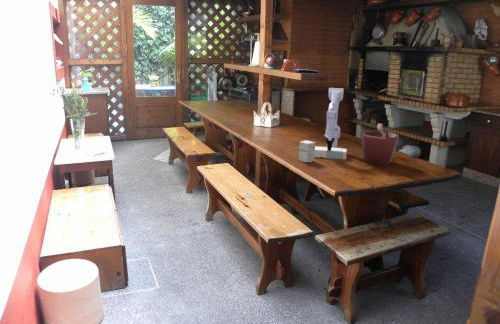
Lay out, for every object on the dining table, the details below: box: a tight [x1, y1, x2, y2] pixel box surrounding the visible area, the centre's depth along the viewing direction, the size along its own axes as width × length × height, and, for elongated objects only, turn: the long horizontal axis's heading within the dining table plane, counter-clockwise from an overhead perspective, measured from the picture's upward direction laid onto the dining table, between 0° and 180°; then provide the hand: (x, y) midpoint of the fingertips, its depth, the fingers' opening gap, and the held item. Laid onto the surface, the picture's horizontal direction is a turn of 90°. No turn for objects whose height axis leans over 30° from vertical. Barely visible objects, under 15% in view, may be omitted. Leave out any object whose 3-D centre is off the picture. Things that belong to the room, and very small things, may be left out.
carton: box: [314, 145, 348, 160], centre depth 275 cm, size 10×24×5 cm, turn 78°
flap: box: [325, 149, 343, 160], centre depth 268 cm, size 2×10×9 cm, turn 77°
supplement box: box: [298, 139, 316, 163], centre depth 262 cm, size 7×7×13 cm
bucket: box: [360, 123, 400, 167], centre depth 261 cm, size 24×22×25 cm
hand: (329, 149), depth 269 cm, fingers closed on flap, 2 cm apart
